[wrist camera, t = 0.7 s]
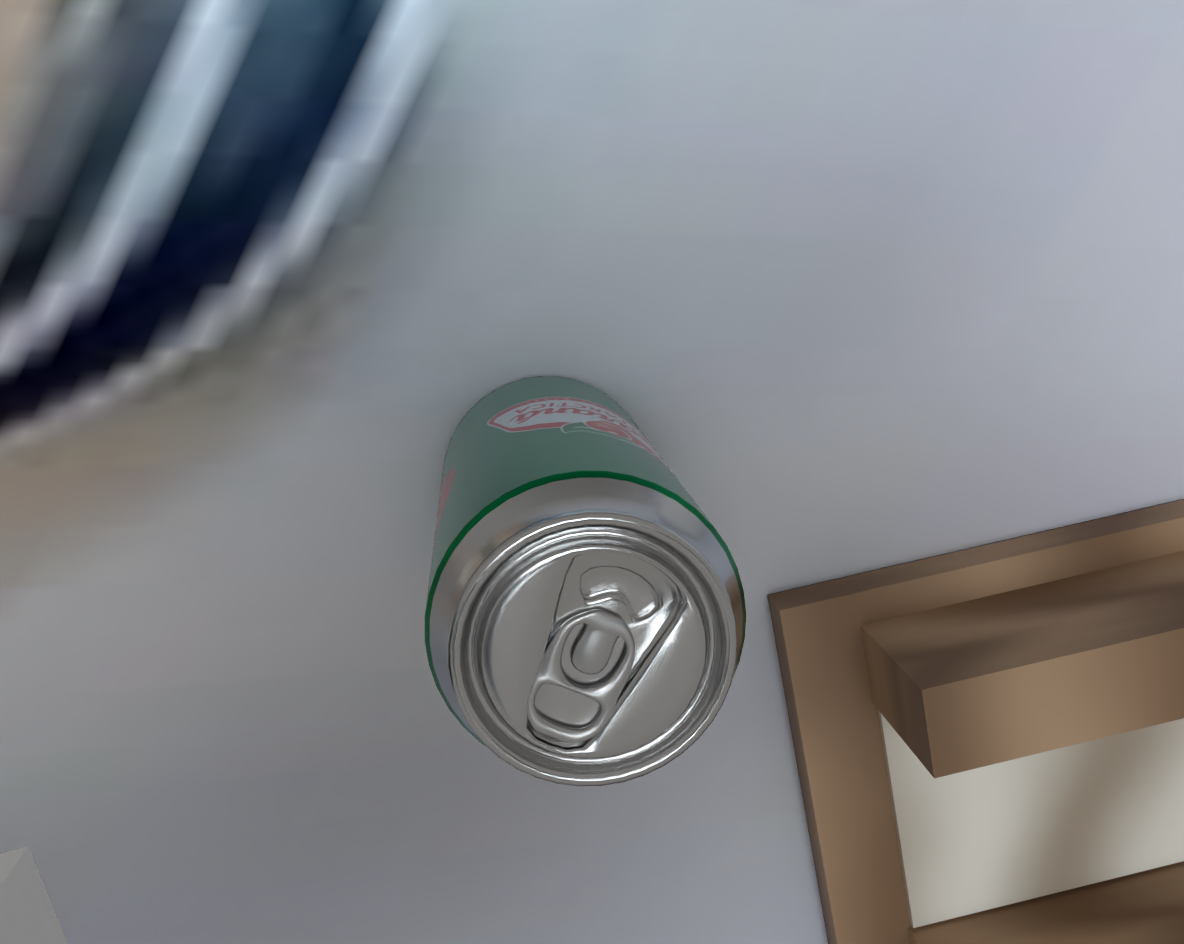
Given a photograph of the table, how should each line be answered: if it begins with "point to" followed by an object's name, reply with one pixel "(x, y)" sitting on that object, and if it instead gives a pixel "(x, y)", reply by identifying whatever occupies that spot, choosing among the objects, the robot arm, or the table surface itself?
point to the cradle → (997, 738)
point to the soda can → (576, 590)
